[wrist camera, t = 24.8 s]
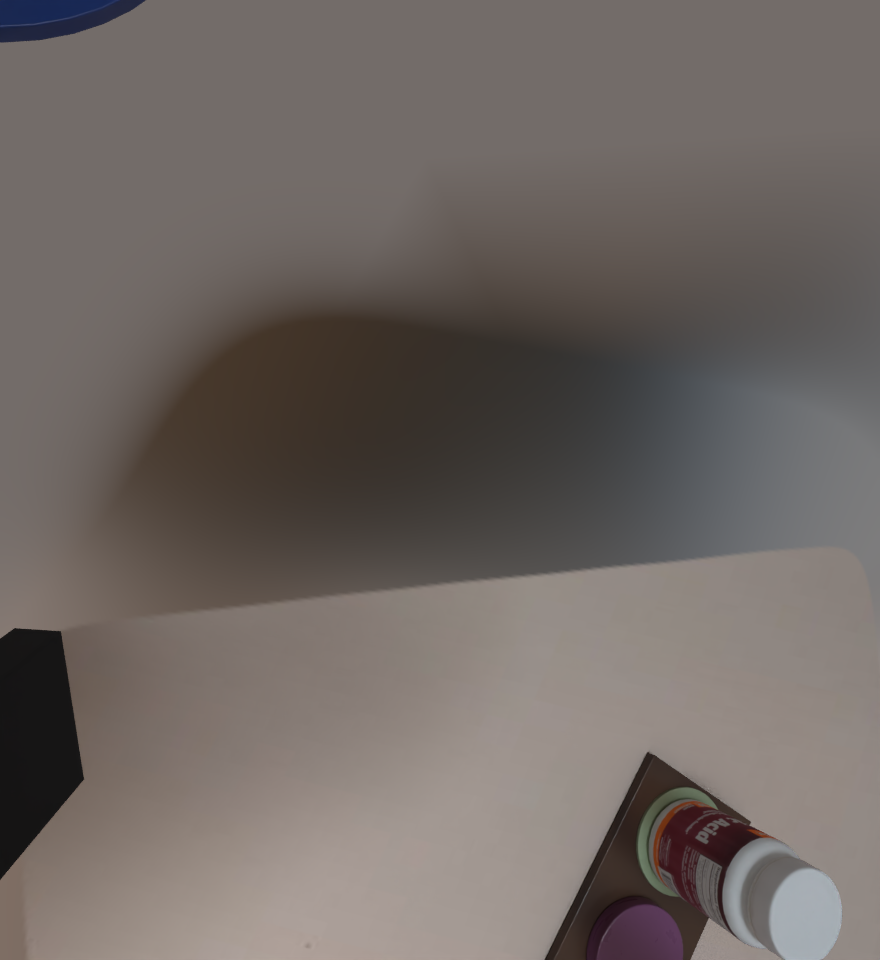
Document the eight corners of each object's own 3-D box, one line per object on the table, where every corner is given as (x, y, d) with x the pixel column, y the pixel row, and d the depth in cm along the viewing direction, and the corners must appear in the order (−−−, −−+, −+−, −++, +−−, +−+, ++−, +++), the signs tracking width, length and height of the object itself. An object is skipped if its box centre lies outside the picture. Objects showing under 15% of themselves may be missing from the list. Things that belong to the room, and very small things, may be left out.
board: (647, 752, 40) (665, 760, 38) (743, 818, 41) (764, 828, 40) (480, 1090, 35) (493, 1114, 33) (596, 1149, 36) (614, 1175, 35)
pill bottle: (716, 791, 40) (846, 851, 32) (720, 881, 39) (853, 964, 31) (643, 802, 38) (760, 867, 30) (646, 896, 38) (766, 987, 30)
